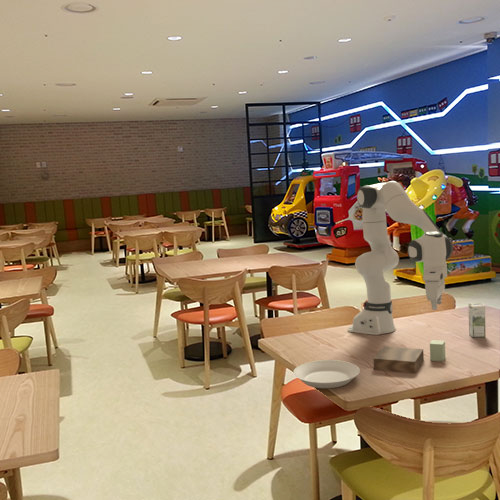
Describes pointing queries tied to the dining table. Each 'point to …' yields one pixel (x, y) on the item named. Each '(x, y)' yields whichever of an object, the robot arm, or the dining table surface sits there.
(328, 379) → the white plate
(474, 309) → the syrup box
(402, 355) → the walnut block
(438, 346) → the sage block
